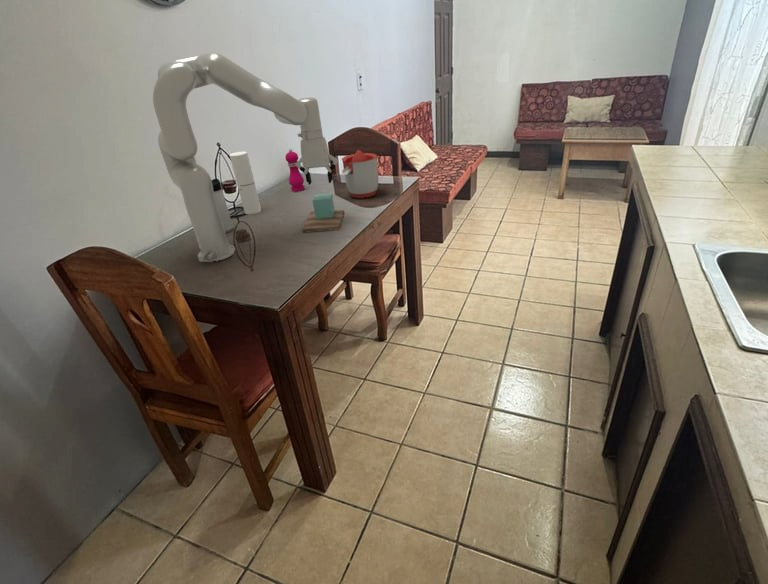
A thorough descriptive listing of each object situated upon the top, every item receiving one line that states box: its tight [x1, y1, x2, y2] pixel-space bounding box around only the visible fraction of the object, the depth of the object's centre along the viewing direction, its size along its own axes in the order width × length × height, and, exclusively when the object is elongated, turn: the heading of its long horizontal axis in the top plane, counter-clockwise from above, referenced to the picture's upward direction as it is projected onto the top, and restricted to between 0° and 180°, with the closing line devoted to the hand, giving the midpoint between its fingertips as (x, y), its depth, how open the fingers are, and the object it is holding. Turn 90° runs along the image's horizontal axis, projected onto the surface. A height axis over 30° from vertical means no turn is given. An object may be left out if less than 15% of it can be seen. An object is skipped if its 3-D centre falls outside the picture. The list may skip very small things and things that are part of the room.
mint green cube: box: [312, 193, 336, 219], centre depth 167 cm, size 7×7×8 cm
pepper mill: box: [285, 148, 305, 193], centre depth 203 cm, size 7×7×20 cm
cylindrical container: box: [229, 151, 262, 215], centre depth 179 cm, size 7×7×25 cm
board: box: [302, 209, 345, 233], centre depth 166 cm, size 18×14×2 cm
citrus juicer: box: [341, 149, 379, 199], centre depth 187 cm, size 16×17×20 cm
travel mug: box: [211, 178, 234, 234], centre depth 163 cm, size 6×7×20 cm
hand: (320, 182), depth 162 cm, fingers open, 7 cm apart
